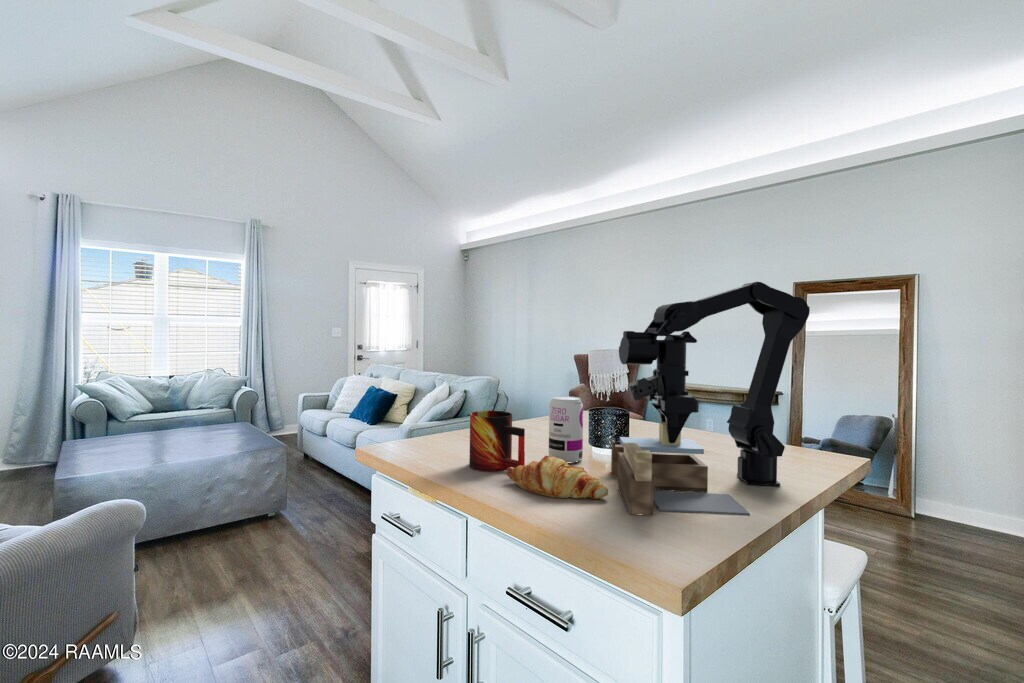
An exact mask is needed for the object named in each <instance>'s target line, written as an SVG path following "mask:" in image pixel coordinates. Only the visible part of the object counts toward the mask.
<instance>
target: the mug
mask: <svg viewBox="0 0 1024 683" xmlns="http://www.w3.org/2000/svg"><path fill="white" fill-rule="evenodd" d="M525 433H526V432H525V428H523V427H517V426H513V413H512V412H510V411H509V412H508V411H504V410H503V411H501V410H477V411H473V412H470V414H469V468H470V469H471V470H474V471H477V472H482V473H483V472H484V473H498V472H499V471H500V472H504V470H505V471H507V469H508V468H516V467H517V466H520V465H521V466H526V464H525V460H526V459H525V457H526V456H525V455H526V454H525V453H526V452H525V443H526V442H525V435H526V434H525ZM513 436H517V437H518V441H517V442H518V443H517V447H518V448H517V455H518V456H517V459H513V458H512V455H513V454H512V452H513V451H512V450H513V449H512V448H513V442H512V440H513Z"/></svg>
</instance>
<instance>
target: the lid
mask: <svg viewBox="0 0 1024 683" xmlns="http://www.w3.org/2000/svg"><path fill="white" fill-rule="evenodd" d="M658 431H659V432H658V437H657V438H656V437H635V436H634V437H632V436H631V437H629V436H620V437H619V443H620V445H622V446H623V448H624V443H637V444H638V446H639V447H640V448H641V450H650V452H651V453H674V454H694V455H705V449H704V448H703V447H702V446H700V445H699V444H698V443H696V442H695V441H694V440H692V439H688V438H687V439H686V438H682V431H681V432H680V434H679V436H678V438H677V440H676V442H675V443H669V439H668V433H667V426H666V422H661V421H659V423H658Z"/></svg>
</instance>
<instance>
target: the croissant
mask: <svg viewBox="0 0 1024 683" xmlns="http://www.w3.org/2000/svg"><path fill="white" fill-rule="evenodd" d="M506 474H507V477H508V478H509V479H510V480H512V481H513V482H514V483H516V485H517V486H518V487H519V488H521V489H523V490H525V491H528V492H531V493H533V494H535V495H541V496H545V497H550V498H555V497H559V499H564V498H565V499H569V498H568V497H572V499H574V498H575V499H587V498H589V499H593V500H594V499H602V498H605V497H607V496H608V495H609V488H608V487H607V486H605V485H604V483H603V482H601V480H600V479H599V478H597V477H596V476H595V477H593V476H591V475H590V474H589V473H588V472H587V471H586V470H585V468H584V467H582V466H573V465H569V464H568V463H567V462H565V461H564V460H562V459H560V458H556V457H550V456H549V455H545V456H544V457H542V458H540V461H536V460H535V461H534V460H532V461H531V462H530V463H529V464H528V465H527V464H526V465H525V466H521V465H520V466H517V467H516V468H512V467H511V468H508V469H507V470H506Z"/></svg>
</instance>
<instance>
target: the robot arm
mask: <svg viewBox="0 0 1024 683" xmlns="http://www.w3.org/2000/svg"><path fill="white" fill-rule="evenodd" d="M747 304H748V305H749V306H750V307H751V308H752V309H753V310H754V311H755V312H756V313H757V314H760V315H762V323H761V324H762V327H763V332H764V339H763V342H762V346H761V348H760V352H759V355H758V359H757V362H756V366H755V368H754V372H753V375H752V380H751V381H750V385H749V389H748V392H747V395H746V399H745V400H744V402H743V403H741V404H740V406H739V405H735V404H733V405H732V406H731V410H730V416H729V419H728V420H727V421H726V423H727V424H728V428H727V429H728V432H729V435H730V436H731V438H732V439H733V440H734V442H735V445H736V446H735V447H737V449H740V450H739V452H740V453H739V454H740V456H737V473H736V477H737V478H739V479H740V480H742V481H743V482H744V483H745V484H747V485H753V486H756V485H757V486H778V487H779V486H781V482H779V480H778V477H777V476H778V457H783V454H784V451H785V448H786V447H785V446H786V445H784V444H783V443H782V442H781V441H780V440H779V439H778V438H777V437H776V435H775V434H774V429H775V428H774V427H775V419H774V413H773V410H772V405H773V402H774V398H775V395H776V392H777V390H778V389H777V388H778V385H779V383H780V379H781V376H782V372H783V370H784V365H785V363H786V359H787V356H788V351H789V349H790V346H791V343H792V340H794V339H795V338H796V337H797V335H799V333H800V332H801V331H802V330H803V329H804V326H805V325H806V323H807V320H808V319H809V315H810V310H811V308H810V306H809V305H808V303H807V301H806V300H805V299H803V298H802V297H800V296H794V295H792V294H790V293H788V292H785V291H783V290H779V289H777V288H773V287H771V286H769V285H767V284H766V283H764V282H763V281H753V282H748V283H747V282H746V283H744V284H742V285H741V286H737V287H734V288H731V289H729V290H728V289H727V290H726V291H722V292H718V293H716V294H713V295H709V296H706V297H702V298H699V299H697V300H691V301H682V302H681V301H680V302H675V303H668V304H662V305H660V306H658V307H657V308H656V309H655V312H654V314H653V319H652V320H651V322H650V323H649V324H648V326H647V327H646V329H645V330H644V331H642V332H641V331H634V330H623V332H622V338H621V340H620V344H619V346H618V357H619V361H620V363H621V364H622V365H643V366H644V365H652V364H653V362H654V361H656V368H654V369H653V371H652V376H648V377H642V378H640V379H636V381H633V382H629V383H628V384H627V387H628V390H629V393H630V396H631V399H632V400H633V401H634V402H635V401H640V400H643V398H646V400H647V401H649V402H651V401H653V400H654V402H651V403H650V405H651V406H652V407H653V408H654V409H655V410H656V411H657V412H658V416H659V418H660V422H666V426H667V433H668V439H669V443H675V442H676V440H677V438H678V436H679V434H680V432H681V433H682V430H683V428H684V426H685V424H686V422H687V421H688V419H689V417H690V415H691V414H692V413H693V414H694V413H699V401H698V400H697V399H696V398H695V397H693V396H692V395H689V391H688V390H687V389H686V387H687V385H686V384H687V383H686V379H687V378H686V377H689V374H690V372H689V370H687V344H690V343H691V344H696V343H697V342H698V339H696V337H694V336H693V335H692V334H691V333H690V331H685V330H687V329H689V328H691V327H692V326H694V325H697V324H698V323H700V322H701V321H702V320H703V319H705V318H708V317H710V316H713V315H716V314H719V313H722V312H725V311H729V310H732V309H735V308H738V307H741V306H744V305H747ZM677 332H681V334H673V333H677ZM658 337H664V339H658Z"/></svg>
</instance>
